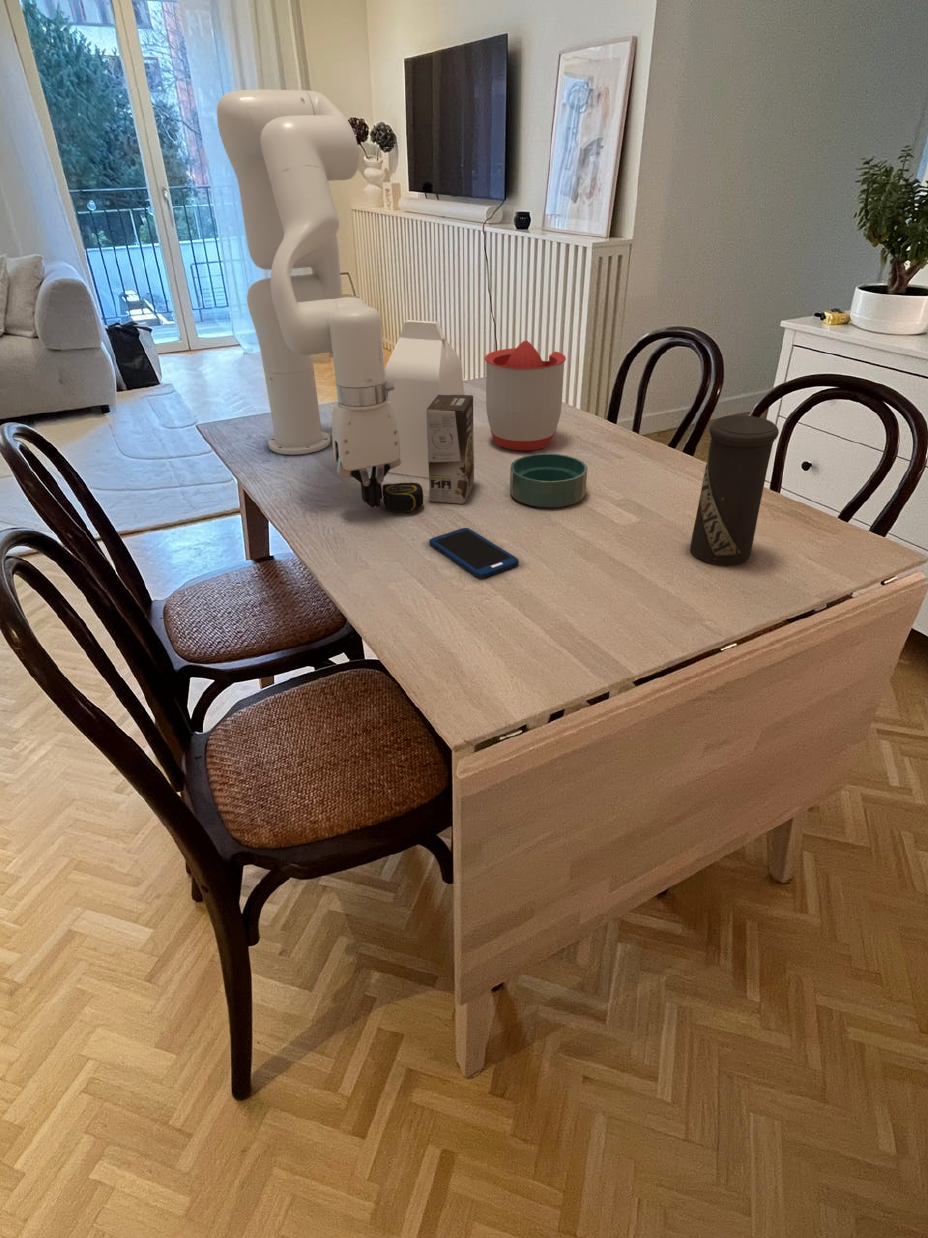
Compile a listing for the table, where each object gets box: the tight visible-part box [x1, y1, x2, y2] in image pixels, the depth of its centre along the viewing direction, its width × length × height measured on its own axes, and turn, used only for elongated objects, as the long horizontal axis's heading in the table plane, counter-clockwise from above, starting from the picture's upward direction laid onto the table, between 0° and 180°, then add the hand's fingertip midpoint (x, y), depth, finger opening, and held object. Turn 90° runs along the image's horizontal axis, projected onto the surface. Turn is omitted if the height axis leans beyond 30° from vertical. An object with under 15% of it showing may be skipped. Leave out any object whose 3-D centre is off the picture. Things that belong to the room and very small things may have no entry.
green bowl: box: [509, 453, 588, 508], centre depth 125 cm, size 13×13×5 cm
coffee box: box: [426, 394, 475, 505], centre depth 124 cm, size 9×6×16 cm
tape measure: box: [381, 482, 424, 513], centre depth 122 cm, size 7×7×4 cm
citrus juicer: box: [484, 340, 567, 452], centre depth 144 cm, size 16×17×20 cm
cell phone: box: [428, 527, 520, 579], centre depth 108 cm, size 7×14×1 cm, turn 35°
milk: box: [385, 319, 465, 479], centre depth 132 cm, size 12×12×26 cm
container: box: [689, 414, 780, 566], centre depth 102 cm, size 9×9×20 cm
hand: (372, 504), depth 121 cm, fingers closed
